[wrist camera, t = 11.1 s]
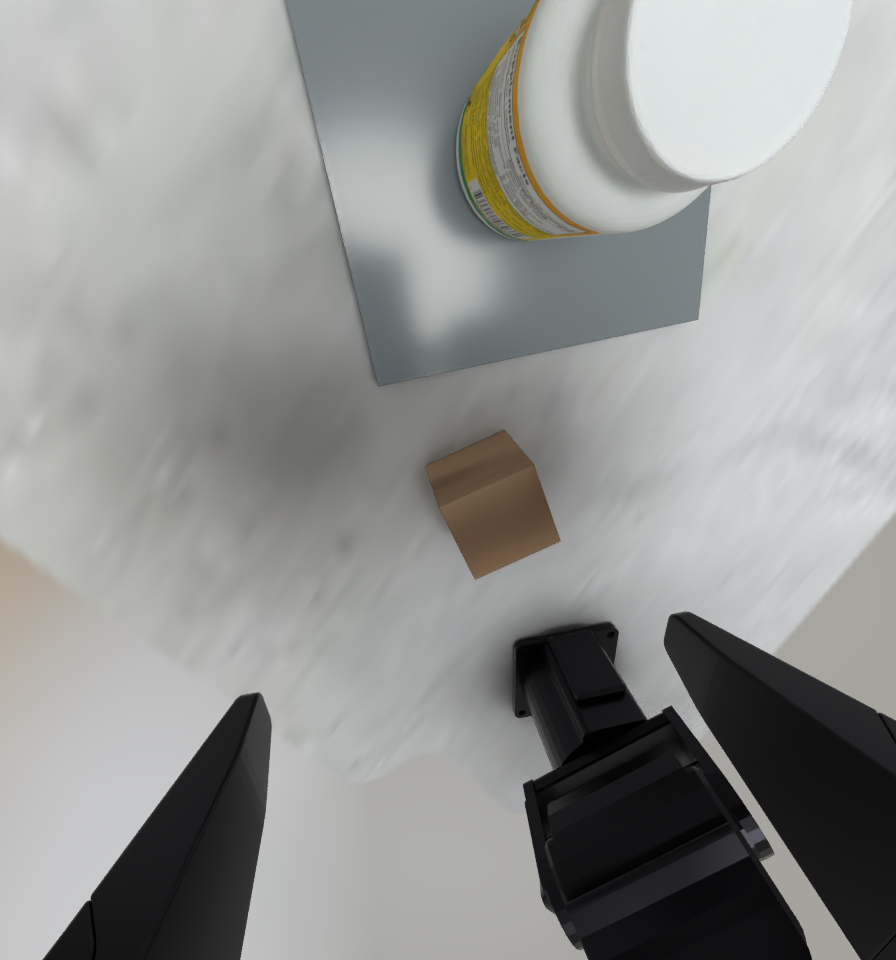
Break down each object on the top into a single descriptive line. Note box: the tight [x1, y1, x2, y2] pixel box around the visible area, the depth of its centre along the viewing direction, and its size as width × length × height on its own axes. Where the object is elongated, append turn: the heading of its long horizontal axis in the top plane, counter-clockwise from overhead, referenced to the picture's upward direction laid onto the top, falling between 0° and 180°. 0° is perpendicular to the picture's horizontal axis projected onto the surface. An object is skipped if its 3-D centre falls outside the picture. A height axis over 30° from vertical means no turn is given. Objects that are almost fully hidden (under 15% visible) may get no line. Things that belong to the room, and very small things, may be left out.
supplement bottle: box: [456, 0, 853, 241], centre depth 11 cm, size 5×5×10 cm
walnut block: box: [425, 430, 560, 580], centre depth 20 cm, size 4×4×4 cm
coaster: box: [286, 0, 711, 386], centre depth 16 cm, size 14×14×1 cm
